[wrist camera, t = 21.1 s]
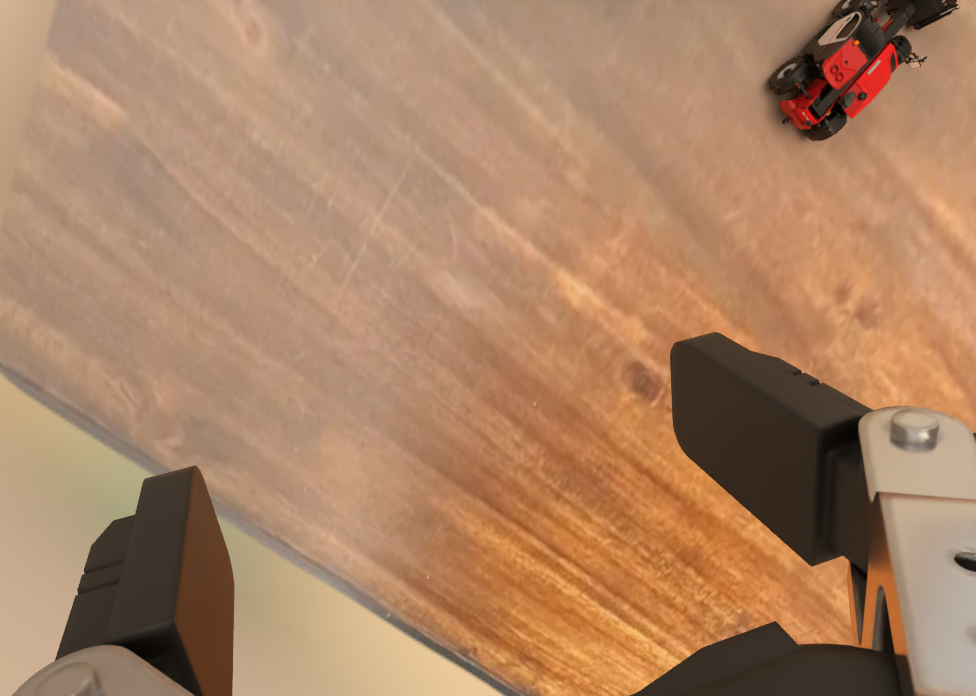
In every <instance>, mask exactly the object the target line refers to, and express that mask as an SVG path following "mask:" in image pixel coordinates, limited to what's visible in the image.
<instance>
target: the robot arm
mask: <svg viewBox="0 0 976 696" xmlns="http://www.w3.org/2000/svg"><path fill="white" fill-rule="evenodd" d="M670 365H671V391H672V416H673V427H674V432H675V435H676V438H677V440H678V443H679V445H680V447H681V448H682V450H683V451H684V453H685V454H686V455H687V456H688V457H689V458H690V459H691V460H692V461H693V462H695V463H696V464H697V465H698V466H699V467H700V468H701V469H702V470H704V471H705V472H706V473H707V474H708V475H709V476H710V477H711V478H713V479H714V480H715V481H716V482H717V483H718V484H719V485H720V486H722V487H723V488H724V489H725V490H726V491H727V492H728V493H729V494H731V495H732V496H733V497H734V498H735V499H736V500H737V501H738V502H739V503H741V504H742V505H743V506H744V507H745V508H746V509H747V510H748V511H750V512H751V513H752V514H753V515H754V516H755V517H756V518H757V519H759V520H760V521H761V522H762V523H763V524H764V525H765V526H766V527H768V528H769V529H770V530H771V531H772V532H773V533H774V534H775V535H777V536H778V537H779V538H780V539H781V540H782V541H783V542H784V543H786V544H787V545H788V546H789V547H790V548H791V549H792V550H793V551H795V552H796V553H797V554H798V555H799V556H800V557H801V558H802V559H804V560H805V561H806V562H807V563H808V564H809V565H810V566H811V567H812V566H815V565H817V564H820V563H823V562H826V561H829V560H832V559H835V558H837V557H840V556H845V557H846V558H847V559H848V573H847V585H848V595H849V605H850V615H851V625H852V635H853V645H854V646H849V645H838V644H801V645H798V644H797V643H796V642H795V641H794V640H793V639H792V638H791V637H790V636H789V635H788V634H787V633H786V632H785V631H784V629H783V628H782V627H781V626H780V625H779V624H778V623H777V622H776V621H775V622H772V623H769V624H766V625H764V626H761V627H758V628H755V629H753V630H750V631H747V632H744V633H742V634H739V635H736V636H733V637H731V638H728V639H725V640H722V641H720V642H717V643H714V644H712V645H709V646H706V647H703V648H701V649H700V650H698V651H697V652H695V653H694V654H693V655H691V656H690V657H688V658H687V659H685V660H684V661H682V662H681V663H680V664H678V665H677V666H675V667H674V668H672V669H671V670H669V671H668V672H667V673H665V674H664V675H662V676H661V677H659V678H658V679H656V680H655V681H654V682H652V683H651V684H649V685H648V686H646V687H645V688H644V689H642V690H641V691H639V692H637V693H635V694H633V695H630V696H976V433H972V432H971V430H970V429H969V428H968V427H967V426H966V425H965V424H964V423H962V422H961V421H959V420H957V419H956V418H954V417H952V416H949V415H947V414H944V413H941V412H938V411H934V410H930V409H925V408H919V407H908V406H897V407H886V408H881V409H877V410H874V411H873V410H872V409H870V408H868V407H866V406H864V405H863V404H861V403H859V402H857V401H855V400H854V399H852V398H850V397H848V396H846V395H845V394H843V393H841V392H839V391H837V390H835V389H834V388H832V387H830V386H828V385H826V384H825V383H821V384H820V383H819V380H817V379H816V378H814V377H812V376H810V375H808V374H807V373H803V374H802V372H801V370H799V369H798V368H796V367H794V366H792V365H790V364H789V363H787V362H785V361H783V360H781V359H780V358H776V357H772V356H768V355H765V354H761V353H757V352H753V351H750V350H748V349H746V348H745V347H743V346H741V345H739V344H738V343H736V342H734V341H732V340H731V339H729V338H727V337H725V336H724V335H722V334H720V333H717V332H714V333H709V334H706V335H702V336H698V337H694V338H690V339H686V340H682V341H679V342H676V343H675V344H674V345H673V347H672V349H671V354H670ZM84 572H85V574H84V575H82V577H81V581H80V584H79V587H78V590H77V591H78V595H77V596H75V599H74V602H73V606H72V609H71V612H70V615H69V618H68V621H67V625H66V628H65V631H64V634H63V637H62V640H61V643H60V647H59V650H58V653H57V656H56V659H55V661H54V662H52V663H51V664H49V665H48V666H46V667H44V668H43V669H41V670H40V671H38V672H37V673H36V674H35V675H33V676H32V677H31V678H29V679H28V680H27V681H26V682H25V683H24V684H23V685H22V686H21V687H19V689H18V690H17V691H16V692H15V693H14V694H13V695H12V696H232V678H233V630H234V629H233V628H234V579H233V572H232V566H231V562H230V557H229V553H228V550H227V547H226V544H225V541H224V538H223V535H222V532H221V529H220V526H219V523H218V520H217V517H216V514H215V511H214V508H213V505H212V502H211V499H210V496H209V493H208V490H207V487H206V484H205V481H204V479H203V476H202V474H201V472H200V470H199V468H198V467H197V466H192V467H188V468H184V469H180V470H176V471H173V472H169V473H165V474H161V475H157V476H153V477H149V478H146V479H145V480H144V481H143V485H142V489H141V493H140V497H139V501H138V505H137V510H136V514H135V515H133V516H129V517H125V518H121V519H117V520H114V521H113V522H112V523H111V524H110V525H109V526H108V527H107V528H106V530H105V531H104V532H103V533H102V534H101V536H100V537H99V538H98V539H97V540H96V541H95V542H94V543H93V544H92V546H91V549H90V552H89V555H88V559H87V562H86V565H85V568H84Z"/></svg>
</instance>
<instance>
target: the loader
mask: <svg viewBox="0 0 976 696" xmlns="http://www.w3.org/2000/svg"><path fill="white" fill-rule="evenodd" d="M956 2H957V0H946V1H945V2H944V3H943V2H942V0H889V3H887V4H886V6H888V8H887V9H886V12H887V13H888V15H891V14H893V13H894V14H893V15H892V16H891V18H890V19H889V20H888V22H887V23H886V24H885V25H884V26H883V27H882V28H881V27H880V26H879V24H878V23H877V21H878V19H877V16H875V15H873V14H872V15H871V13H872V12H871V11H873V10H874V8H876V7H878V5H879V4H878V3H879V0H842V1H841V2H840V3H839V4H838V5H837V6H836V7H835V9H834V10H833V17H834V19H833V20H831V21H830V22H829V24H828V25H827V26H826V27H825V28H824V29H823V30H822V31H821V32H820V33H819V34H818V35H817V36H816V37H815V38H814V39H813V41H812V42H811V43H810V44H809V45H808V46H807V47H806V48H805V50H804V51H803V53H802V54H803V56H798V57H796V58H793V59H792V60H791V61H788V62H786V64H783V65H782V66H781V67H780V68H779V69H778V70H776V72H775V73H774V74H773V75H772V77H771V78H770V79H769V82H768V84H769V86H770V88H771V90H772V91H773V92H774V93H775V94H778V95H781V94H782V95H783V94H785V93H786V92H792V91H794V90H797V91H798V92H799V96H797V97H796V98H795V99H794V100H786V101H780V105H781V108H782V110H783V112H784V113H785V116H786V119H784V120H783V121H782V122H783V124H786V123H788V121H790V122H791V123H792V124H793V125H794V126H796V127H797V128H798V129H803V131H804V133H805V135H806V136H807V137H808V138H809V139H810V140H812V141H816V140H817V141H819V140H820V141H822V140H825V139H827V138H829V137H831V136H833V135H834V134H836V133H837V132H838V131H839V130H840V129H841V128H842V127H843V126H844V125H845V124H846V122H847V115H848V116H849V117H850V118H854V117H855V116H856V115H857V114H858V113H859V112H861V111H862V110H863V109H864V108H865V107H866V106H867V105H868V104H869V103H870V102H871V101H872V100H873V99H874V98H875V97H876V95H877V94H878V93H879V92H880V91H881V90H882V88H883V87H884V86H885V85H886V83H887V82H888V81H889V79H890V76H891V74H892V72H893V71H895V70H896V68H897V66H898V65H900V64H901V63H902V62H905V63H906V64H909V65H910V67H911V68H917V67H921V64H920V62H924V60H925V59H926V58H927V57H923V58H921V59H919V60H918V61H915V62H914V61H913V62H910V61H911V60H913V59H918V57H919V56H916V55H915V53H914V52H913V53H914V54H913V53H911V49H912V47H911V44H910V42H909V41H908V40H907V39H906V37H904V36H902V35H900V36H898V35H897V36H895V37H893V36H894V35H895V34H896V33H897V32H898V31H899V30H900V29H901V28H902V27H903V25H904V24H905V23H906V22H907V21H908V20H910V21H911V23H912V24H911V25H913V26H914V29H915V30H919V29H921V28H923V27H925V26H927V25H929V24H931V23H933V22H935V21H937V20H939V19H941V18H943V17H945V16H947V15H949V14H951V12H952V11H953V10H955V9H959V6H958V4H956ZM946 3H947V4H946ZM944 4H946V5H945V6H944ZM870 12H871V13H870ZM892 37H893V38H892ZM909 56H910V57H909ZM907 58H909V59H908V60H909V61H906V59H907ZM909 62H910V63H909ZM810 78H816V79H815V80H814V81H813V82H812V85H811V86H810V87H808V85H807V84H806V81H807V80H808V79H810ZM802 84H805V86H806V88H808V89H807V90H805V89H804V87H803V86H802ZM817 85H818V86H817ZM825 85H827V88H826V89H825V90H824V91H823V87H824V86H825ZM808 107H809V108H810V109H811V110H808ZM846 114H847V115H846Z"/></svg>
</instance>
